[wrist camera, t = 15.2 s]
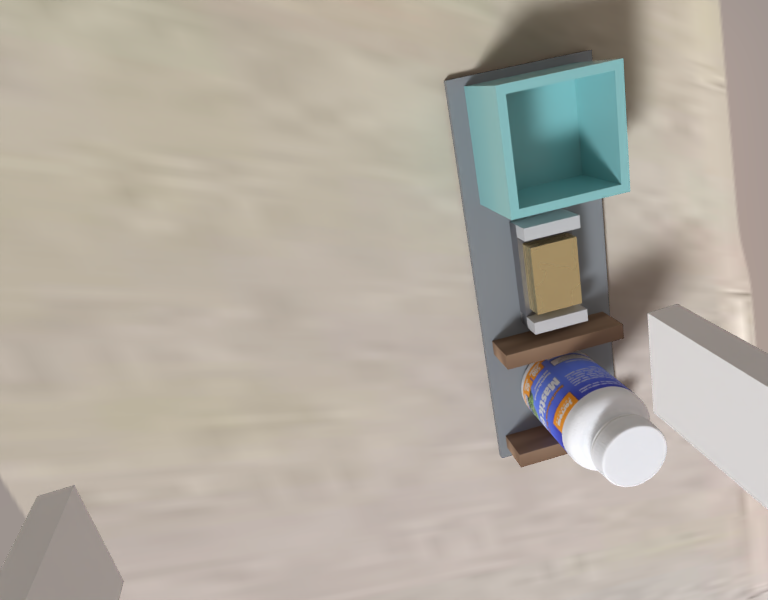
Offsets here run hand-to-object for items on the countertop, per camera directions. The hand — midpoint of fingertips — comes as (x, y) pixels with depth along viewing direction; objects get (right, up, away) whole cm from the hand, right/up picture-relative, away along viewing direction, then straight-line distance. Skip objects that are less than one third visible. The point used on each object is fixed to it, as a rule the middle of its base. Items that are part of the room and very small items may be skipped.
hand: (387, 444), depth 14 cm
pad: (+10, +5, +26) cm, 28 cm away
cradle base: (+10, +5, +26) cm, 29 cm away
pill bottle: (+12, -2, +30) cm, 32 cm away
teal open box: (+9, +13, +23) cm, 28 cm away
